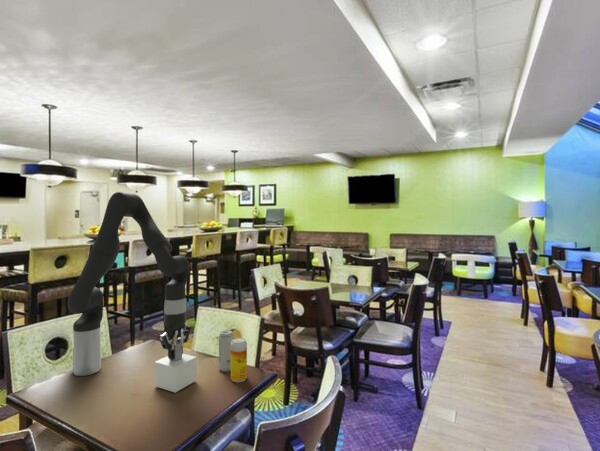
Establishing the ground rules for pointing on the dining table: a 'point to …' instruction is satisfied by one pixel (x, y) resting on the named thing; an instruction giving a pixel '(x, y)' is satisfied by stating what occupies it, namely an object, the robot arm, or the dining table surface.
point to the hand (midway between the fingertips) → (175, 357)
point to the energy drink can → (225, 350)
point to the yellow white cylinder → (238, 359)
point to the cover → (175, 370)
